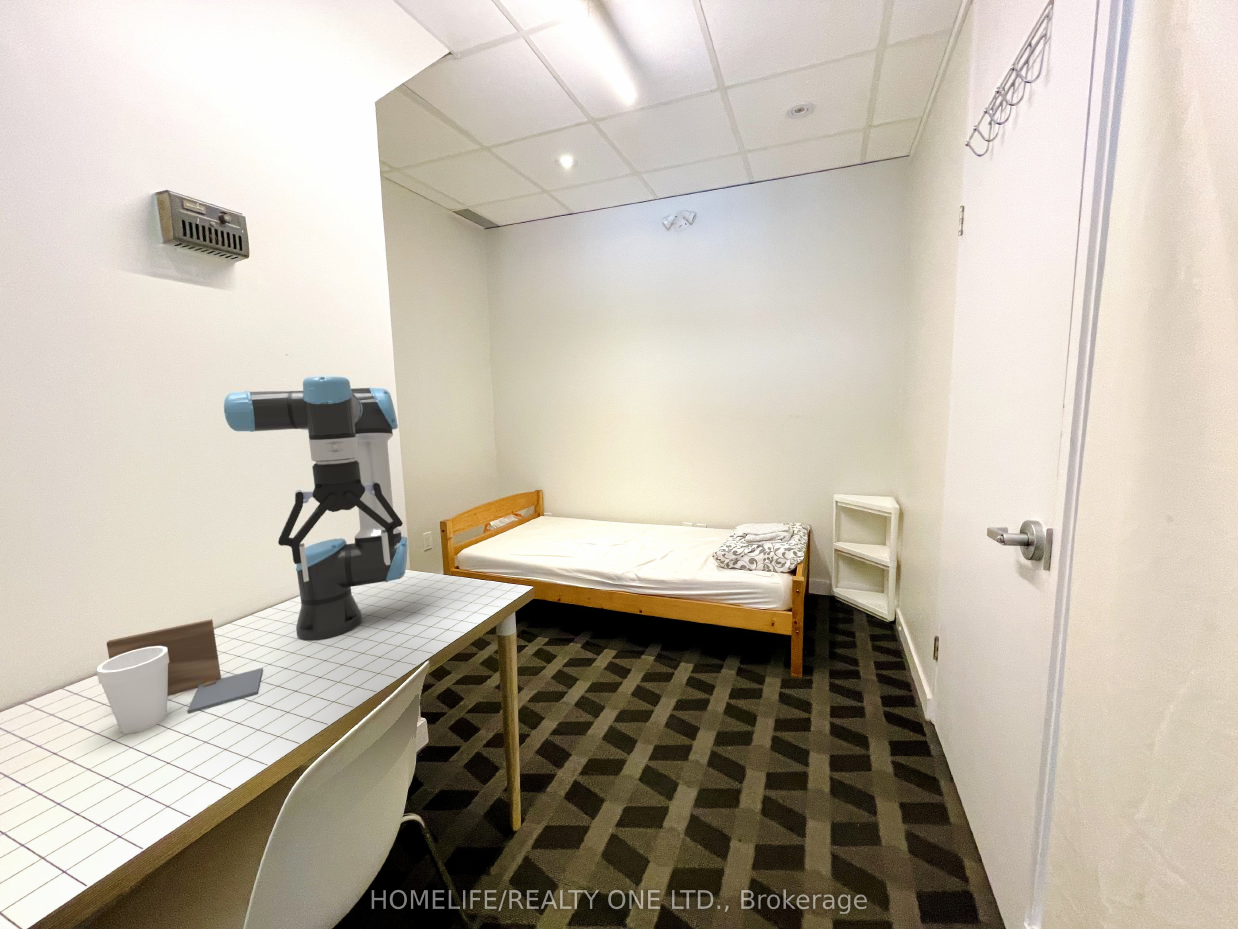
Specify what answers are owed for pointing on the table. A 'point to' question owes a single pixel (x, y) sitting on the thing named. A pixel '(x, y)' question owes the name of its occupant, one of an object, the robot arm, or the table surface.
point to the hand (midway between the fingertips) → (348, 571)
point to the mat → (226, 690)
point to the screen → (179, 653)
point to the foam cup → (137, 687)
